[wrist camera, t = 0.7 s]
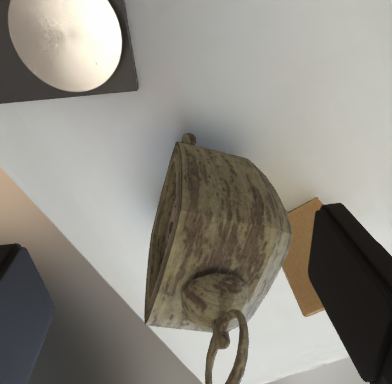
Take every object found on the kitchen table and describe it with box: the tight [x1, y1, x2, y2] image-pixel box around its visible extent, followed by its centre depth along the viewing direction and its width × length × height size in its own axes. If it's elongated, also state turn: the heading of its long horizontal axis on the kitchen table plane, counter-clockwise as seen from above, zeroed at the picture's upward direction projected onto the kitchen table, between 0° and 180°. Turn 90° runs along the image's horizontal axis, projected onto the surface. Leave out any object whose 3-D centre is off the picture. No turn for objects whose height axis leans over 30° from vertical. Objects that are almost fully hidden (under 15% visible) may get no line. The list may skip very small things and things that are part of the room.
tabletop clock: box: [145, 133, 293, 384], centre depth 28 cm, size 14×9×25 cm, turn 164°
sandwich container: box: [282, 198, 325, 317], centre depth 39 cm, size 9×15×15 cm, turn 33°
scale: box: [0, 0, 138, 104], centre depth 26 cm, size 16×16×3 cm
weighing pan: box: [8, 0, 123, 92], centre depth 26 cm, size 9×9×1 cm
